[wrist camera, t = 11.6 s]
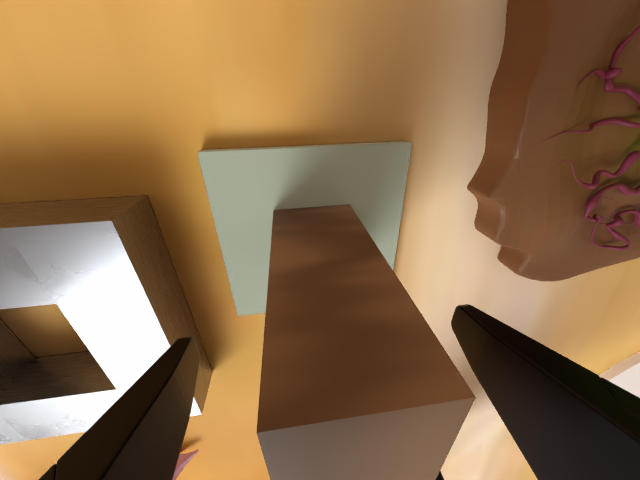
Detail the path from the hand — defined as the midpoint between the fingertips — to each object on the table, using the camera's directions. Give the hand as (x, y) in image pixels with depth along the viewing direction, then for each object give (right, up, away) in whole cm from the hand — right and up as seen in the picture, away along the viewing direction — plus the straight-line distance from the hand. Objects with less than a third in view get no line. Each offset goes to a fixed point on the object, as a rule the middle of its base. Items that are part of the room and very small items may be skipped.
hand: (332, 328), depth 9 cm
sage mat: (-1, +3, +6) cm, 7 cm away
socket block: (-16, -1, +6) cm, 17 cm away
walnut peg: (-1, +3, +5) cm, 6 cm away
